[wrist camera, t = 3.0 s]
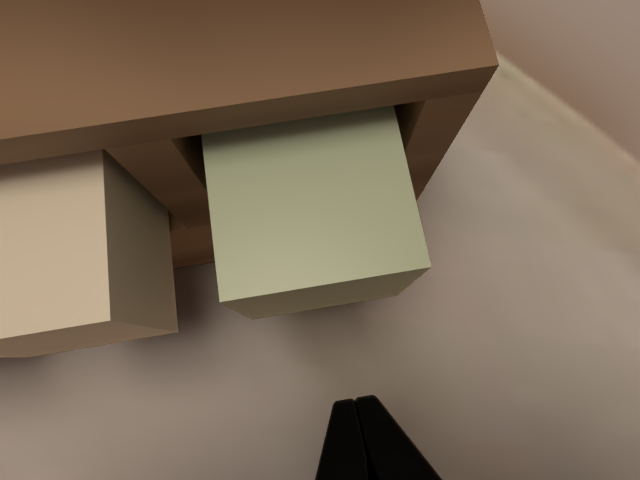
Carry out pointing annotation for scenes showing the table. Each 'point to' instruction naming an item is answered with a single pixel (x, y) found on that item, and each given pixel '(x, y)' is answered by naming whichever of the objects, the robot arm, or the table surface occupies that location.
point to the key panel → (229, 82)
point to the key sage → (312, 213)
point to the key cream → (81, 256)
